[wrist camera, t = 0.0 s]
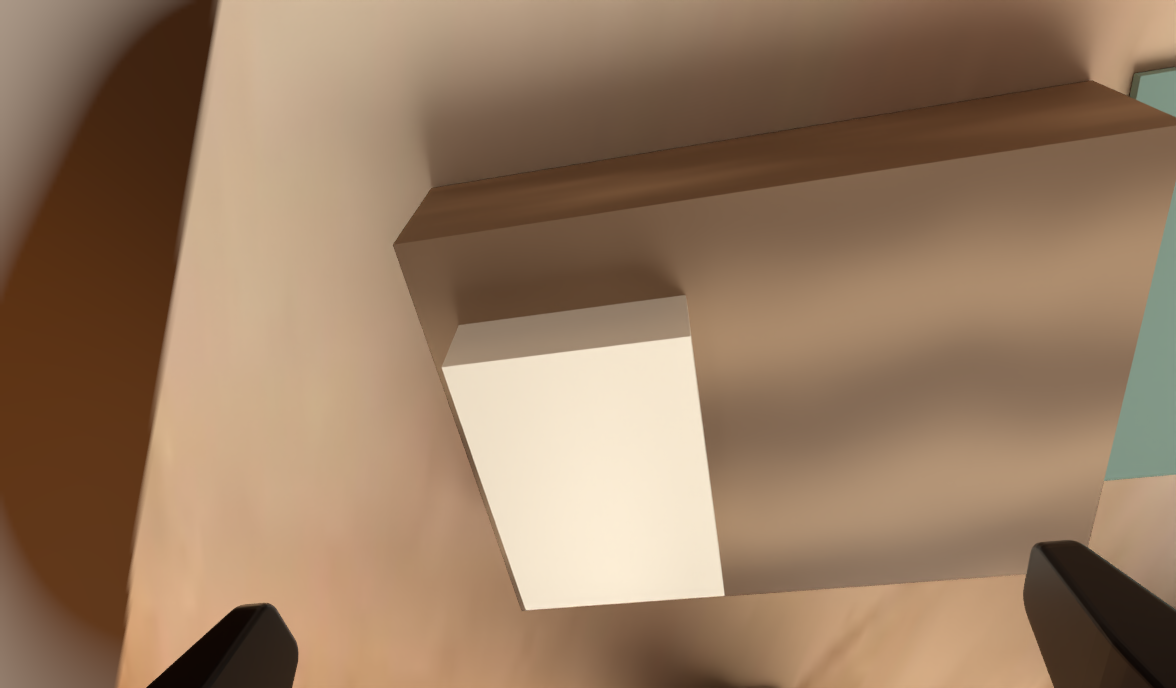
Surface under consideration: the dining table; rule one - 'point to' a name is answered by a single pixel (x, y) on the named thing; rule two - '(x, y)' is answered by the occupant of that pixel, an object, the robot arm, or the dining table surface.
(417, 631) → the dining table surface
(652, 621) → the dining table surface
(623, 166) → the brown wooden flat block
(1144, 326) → the mat
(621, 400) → the cream rectangular tile
